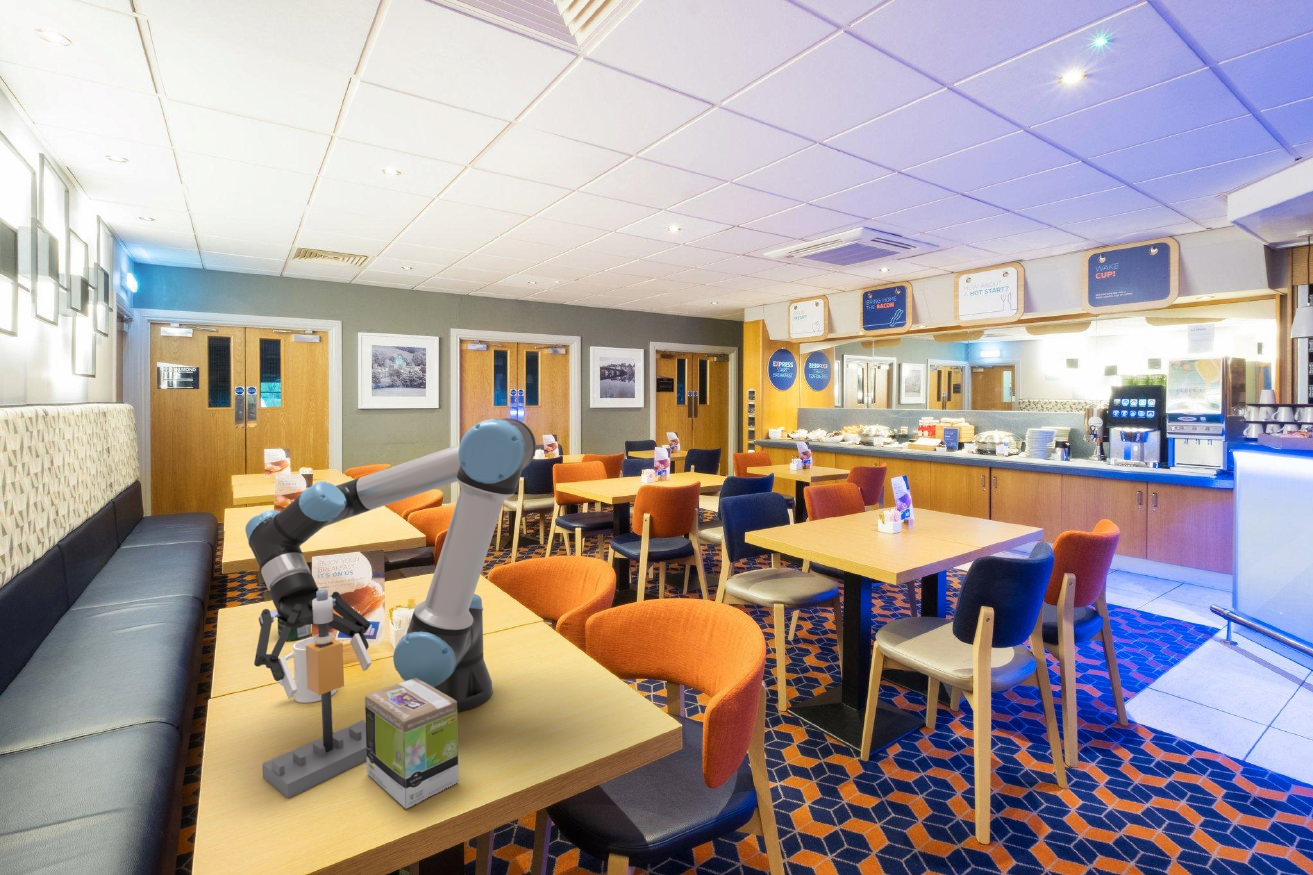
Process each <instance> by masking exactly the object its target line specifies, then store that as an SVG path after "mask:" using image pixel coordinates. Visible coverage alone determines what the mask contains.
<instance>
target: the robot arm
mask: <svg viewBox="0 0 1313 875" xmlns="http://www.w3.org/2000/svg"><path fill="white" fill-rule="evenodd" d="M536 450H537V441H536V436H535V435H534V433H533V431H532V430H531V428H530V427H529V426H528V425H527V424H526V423H524V422H523V421H521V420H519V419H515V418H506V417H505V418H500V419H499V418H491V419H485V420H483V421H480V422H478V423H477V424H475V425H473V426H472V427H471V428H469V429H468V430H467V431H466V432H465V433H464V435H463V436H462V439H461V440H460V443H459V444H457V445H452V446H451V447H447V448H445V449H441V450H439V451H435V452H431V453H429V454H427V455H424V456H420V457H417V458H415V459H411V460H409V461H405V462H403V463H399V464H397V465H394V466H391V467H388V468H385V469H382V470H379V471H376V472H374V473H373V472H372V473H370V474H367V475H365V476H361V477H359V478H355V479H351V480H350V481H347V482H344V483H339V484H337V485H334V484H333V483H331V482H326V481H323V480H321V481H317V482H316V483H314V484H313V485H311V486H310V487H308V488H306V489H304V490H303V491H302V492H301V494H300V495H299V496H298V497H296V498H295V499H294V500H293V501H291V502H290V503H289V504H288V505H287V506H286V507H285V508H283V509H282V510H280V511H279V510H267V511H263V512H261V514H259V515H255V516H253V517H251V518H250V519H249V520H248V521H247V523H246V525H245V529H244V530H245V533H246V534H245V535H246V538H247V542H248V545H249V548H250V549H251V551H252V553H253V556H254V558H255V559H256V563H257V564H258V566H259V570H260V573H261V575H262V578H263V580H264V582H265V585H266V587H267V590H268V591H269V596H270V597H271V600H272V603H273V604H274V608H275V609H272V610H270V609H268V608H264V609H263V610H262V611H261V613H260V614H259V617H258V622H259V626H260V631H259V634H258V635H259V636H258V642H257V648H256V653H255V657H254V658H255V659H254V663H253V666H255V667H261V666H265V667H266V668H267V669H270V671H271V675H272V677H273V679H274V680H275V681H276V682H278V681H279V680H281V681H282V684H283V686H282V687H283V689H284V692H285V693H286V696H287V699H291V698H294V695H295V692H296V691H297V687H296V684H295V678H294V677H293V674H292V672H291V668H290V667H289V664H288V662H287V661H286V659H285V657H286V656H285V655H284V656H280V653H281V651H282V649H283V647H284V645H285V644H286V642H287V640H286V639H287V637H288V635H289V633H290V631H291V629H292V627H297V628H300V627H303V626H305V625H311V624H313V625H315V624H314V623H313V607H312V600H313V599H315V598H317V595H316V592H317V591H319V588H318V586H317V582H316V580H315V578H314V576H313V574H312V573H311V569H310V567H309V565H308V563H307V561H306V558H305V556H304V554H303V551H302V549H301V546H302V545H303V544H304V543H306V542H307V541H308V540H309V539H310V538H311V537H313V536H314V535H315V534H317V533H318V532H320V530H322V529H323V528H325V527H327V526H331V525H333V524H336V523H339V522H341V521H343V520H347V519H349V518H353V517H356V516H359V515H360V514H361V515H362V514H363V513H366V512H370V511H372V510H376V509H378V508H381V507H384V506H386V505H390V504H393V503H396V502H400V501H402V500H405V499H408V498H412V497H415V496H417V495H420V494H423V493H426V492H429V491H432V490H435V489H438V488H442V487H445V486H447V485H451V484H453V483H458V485H459V486H460V491H459V494H458V498H457V499H456V500H457V501H456V503H455V504H456V505H455V507H454V510H453V513H452V516H451V519H450V521H449V522H450V523H449V525H448V529H447V531H446V535H445V538H444V542H443V544H442V548H441V551H440V554H439V557H438V560H437V564H436V566H435V570H434V572H433V576H432V579H431V583H430V586H429V587H428V588H429V589H428V591H427V595H426V598H425V600H423V601H422V602H420V603H418V604H417V605H416V606H415V607H414V610H413V612H412V616H411V619H410V621H409V625H408V628H407V631H406V633H405V635H404V636H402V637H401V638H400V639H399V641H398V643H396V644H397V645H396V646H395V648H394V651H393V655H392V656H393V657H392V660H393V665H394V668H395V671H396V672H397V673H398V674H399V677H400V678H401V679H402V680H403V682H404V681H407V680H410V679H413V678H418V679H419V680H421V681H423V682H425V683H427V684H428V685H430V686H432V687H434V688H435V689H437V690H439V691H440V692H442V693H444V694H446V695H448V696H449V697H451V698H453V699H454V700H456V701H457V713H459V712H463V711H467V710H470V709H473V708H476V707H478V706H481V705H482V704H484V703H485V702H487V701H488V700H489V699H490V698H491V696H493V680H492V678H491V675H490V672H489V670H488V668H487V664H486V661H485V660H484V659H485V658H484V622H483V620H484V619H483V616H484V615H483V611H484V607H483V600H482V598H481V596H480V595H478V594H476V592H475V591H476V589H477V586H478V582H479V580H480V577H481V573H482V570H483V567H484V564H485V562H486V561H485V560H486V558H487V555H488V553H489V548H490V545H491V542H492V539H493V536H494V533H495V530H496V527H497V523H498V520H499V517H500V514H501V511H502V508H503V505H504V501H506V500H507V499H509V498H510V497H513V496H515V493H516V489H517V486H518V484H519V481H520V479H521V478H520V477H521V475H522V472H523V470H525V468H527V467H528V466H529V465H530V464H531V462H532V461H533V459H534V458H535V454H536ZM328 596H329V597H332V601H333V611H334V612H336V613H334V612H333V621H331V622H329V623H328V626H329V628H331V629H334V630H335V631H338V632H340V633H341V634H344V635H345V636H347V637H350V638H351V640H350V641H349V643H350V645H351V647H352V649H353V651H354V654H355V656H356V659H357V661H358V663H359V666H360V668H361V669H362V672H364V671H367V670H368V669H369V668H370V667H371V664H373V662H372V659H371V657H370V655H369V653H368V649H369V647H370V646H369V642H368V641H367V638H366V636H365V634H366V633H367V631H368V629H369V628H370V626H371V625H372V624H371V622H370V621H369V620H368V619H366V618H365V617H364V616H363V615H361V613H359V612H358V611H357V610H355V609H354V608H353V607H352V606H351V605H349V604H348V603H347V602H346V601H345V600H344V599H343V598H342V596H341V594H340V593H339V591H334V592H333V593H332V594H331V595H328ZM276 618H277V620H278V619H280V620H282V621H284V622H285V623H286V624H285V626H284V628H283V630H282V632H281V634H280V636H279V635H278V639H277V641H276V642H275V645H274V647H273V649H272V651H271V653H267V651H268V646H269V642H270V635H271V631H272V623H274V621H275V619H276ZM279 656H280V657H279ZM489 697H490V698H489ZM480 704H481V705H480Z"/></svg>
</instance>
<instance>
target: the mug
mask: <svg viewBox="0 0 1313 875" xmlns="http://www.w3.org/2000/svg"><path fill="white" fill-rule="evenodd" d="M314 637H315V636H311V637H308V638H307V637H306V638H303V639H300V640H298V641H297V642H295V643H294V644H293V648H292V649H293V651H292V652H291V653H288V654H287V655H285V656H284V657H285V659H286V662H287V661H288V660H291V659H293V669H294V670H293V671H294V672H293V673H294V682H295V684H296V687H297V691H296V692H295V694H294V696H293V699H294V701H295V702H297V703H300V704H309V703H310V704H311V703H317V702H321V695H318V694H316V693H314V692H313V691H311V690H309V689H308V687H307V663H306V645H309V644H312V643H315V641H314ZM333 639H334V640H335V638H334V637H333ZM277 683H278V684H279V685H280V686H282V687H283V684H282V681H281V680H279V681H277ZM337 691H338V688H337V689H335V690H332V691H331V697H332V696H334V695H335V694H336V693H337Z"/></svg>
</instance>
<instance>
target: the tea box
mask: <svg viewBox="0 0 1313 875" xmlns="http://www.w3.org/2000/svg"><path fill="white" fill-rule="evenodd" d="M364 696H365V697H364V702H365V703H364V710H365V711H364V712H365V722H366V749H367V761H366V773H367V775H368V776H369V777H370V778H371V779H372V780H373V781H375V782H376V783H377V784H378V785H379V786H380V787H381V788H382V789H384V791H386V792H387V793H388V794H389V795H390V796H391V797H392V798H393V799H394V800H395V801H396V802H398V803H399V804H400V805H401V806H402V807H403V808H404V809H407V810H408V809H409V808H411V807H414V806H415V804H416V805H418V804H420V803H422V802H424V801H426V800H428V799H429V798H428V797H430V796H432V795H434V794H436V795H438V794H439V793H438V792H440V791H442V790H443V791H445V790H446V789H445V788H447V789H449V788H451V787H453V786H455V785H456V783H457V784H458V783H459V745H458V744H459V742H458V740H459V738H458V737H459V736H458V733H459V732H458V730H459V729H458V728H459V727H458V712H457V701H456V700H454V699H453V698H451V697H449V696H448V695H446V694H444V693H442V692H440V691H439V690H437V689H435V688H434V687H432V686H430V685H428V684H427V683H425V682H423V681H421V680H419V679H418V678H413V679H410V680H407V681H404V680H403V682H399V683H396V684H394V685H390V686H388V687H385V688H382V689H379V690H376V691H373V692H370V693H367V694H365V695H364ZM454 784H455V785H454ZM452 785H453V786H452ZM450 786H451V787H450ZM448 787H449V788H448ZM444 789H445V790H444ZM443 791H442V792H443ZM437 793H438V794H437ZM440 793H441V792H440ZM434 796H435V795H434ZM432 797H433V796H432ZM427 798H428V799H427ZM430 798H431V797H430ZM425 799H426V800H425ZM423 800H424V801H423ZM421 801H422V802H421Z"/></svg>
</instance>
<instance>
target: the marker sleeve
mask: <svg viewBox="0 0 1313 875" xmlns="http://www.w3.org/2000/svg"><path fill="white" fill-rule="evenodd" d="M306 663H307V687H308V689H309V690H311V691H313V692H314V693H316V694H318V695H321V694H324V693H327V692H329V691H332V690H335V689H337V690H338V689H339V688H342V687H344V686H345V678H344V677H345V676H344V650H343V642H342V641H339V640H337V639H335V638H334V639H333V641H331V642H329V645H328V646H325V647H322V648H320V647H319V644H315V643H312V644H309V645H306Z"/></svg>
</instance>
